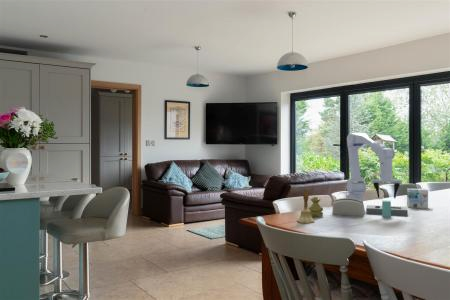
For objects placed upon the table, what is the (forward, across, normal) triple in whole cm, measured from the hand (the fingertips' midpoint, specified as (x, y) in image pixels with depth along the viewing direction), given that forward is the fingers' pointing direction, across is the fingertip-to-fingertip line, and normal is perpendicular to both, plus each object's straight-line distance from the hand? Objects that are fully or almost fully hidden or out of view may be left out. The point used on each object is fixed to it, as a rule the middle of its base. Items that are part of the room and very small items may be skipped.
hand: (386, 197), depth 196 cm
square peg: (+10, 0, -1) cm, 10 cm away
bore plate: (+10, 0, +10) cm, 14 cm away
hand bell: (+10, -36, -28) cm, 47 cm away
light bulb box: (+10, +17, +39) cm, 44 cm away
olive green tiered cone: (+10, -34, -12) cm, 38 cm away
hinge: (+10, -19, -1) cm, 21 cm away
